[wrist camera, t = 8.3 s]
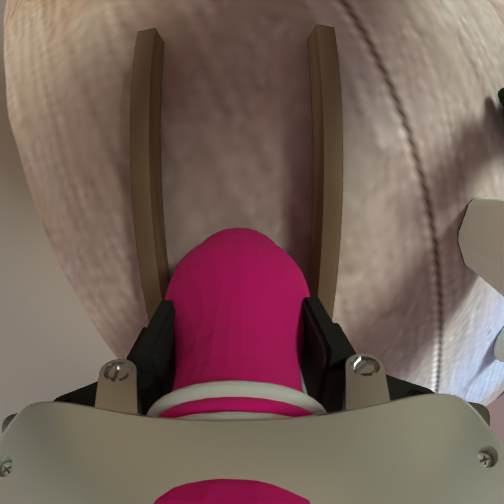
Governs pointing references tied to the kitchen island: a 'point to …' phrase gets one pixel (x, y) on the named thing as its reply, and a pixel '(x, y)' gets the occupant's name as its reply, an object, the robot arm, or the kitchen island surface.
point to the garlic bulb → (499, 346)
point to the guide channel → (324, 167)
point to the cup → (484, 240)
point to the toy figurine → (501, 96)
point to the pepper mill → (236, 350)
